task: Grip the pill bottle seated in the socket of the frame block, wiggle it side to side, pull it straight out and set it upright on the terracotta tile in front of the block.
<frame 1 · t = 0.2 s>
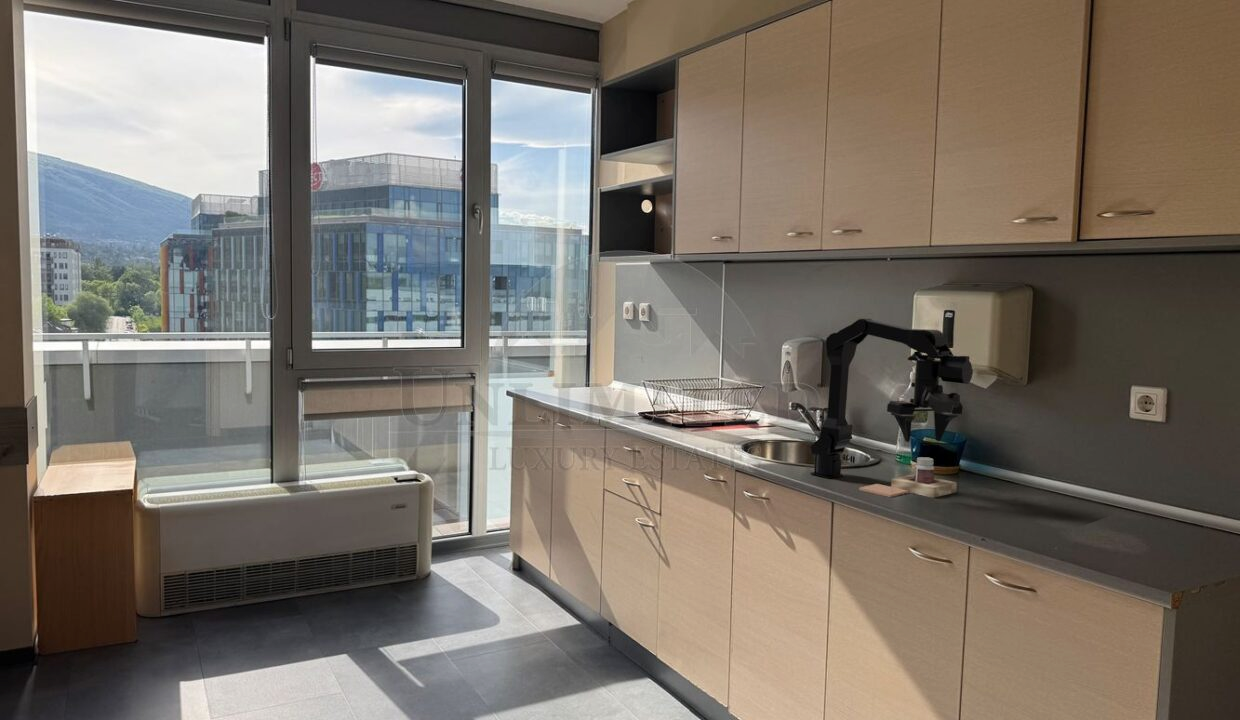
hand: (922, 441, 212), 14 cm above the countertop, fingers open, 9 cm apart
pill bottle: (923, 491, 219), resting in frame block
frame block: (923, 490, 219), on the countertop
terracotta tile: (883, 491, 216), on the countertop
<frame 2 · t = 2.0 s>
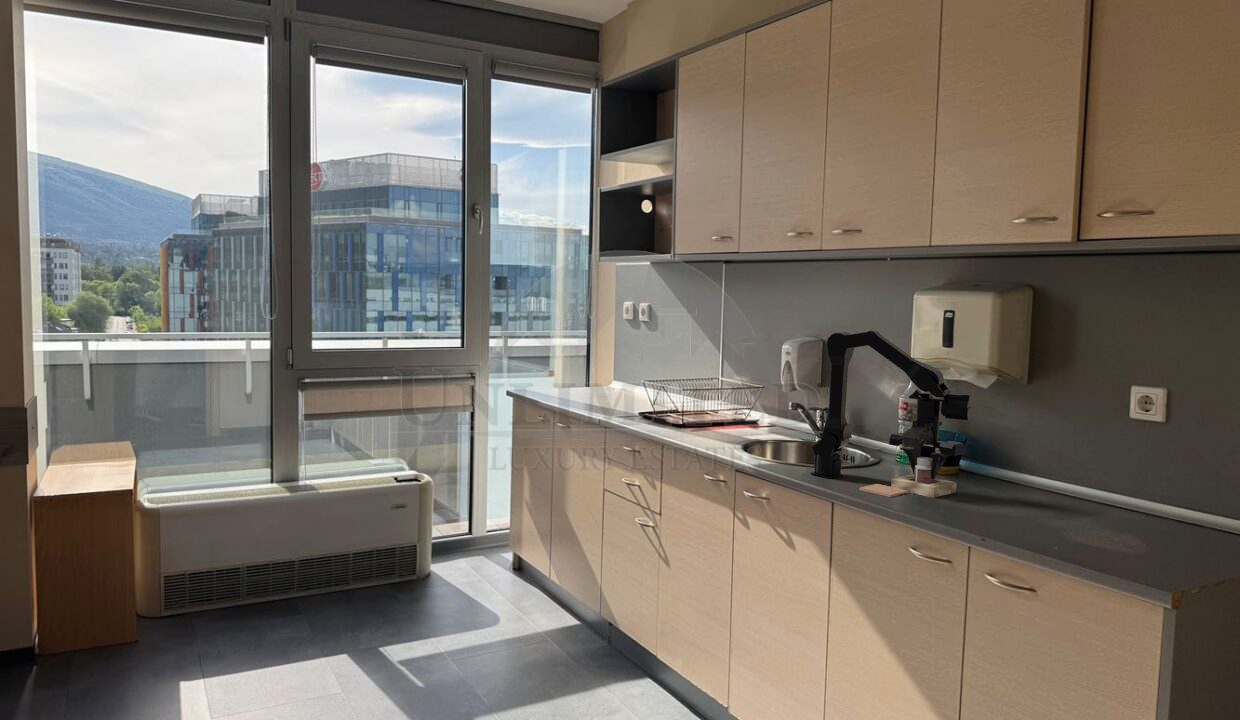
hand: (924, 476, 219), 4 cm above the countertop, fingers closed on pill bottle, 5 cm apart
pill bottle: (923, 490, 219), resting in frame block, touching gripper
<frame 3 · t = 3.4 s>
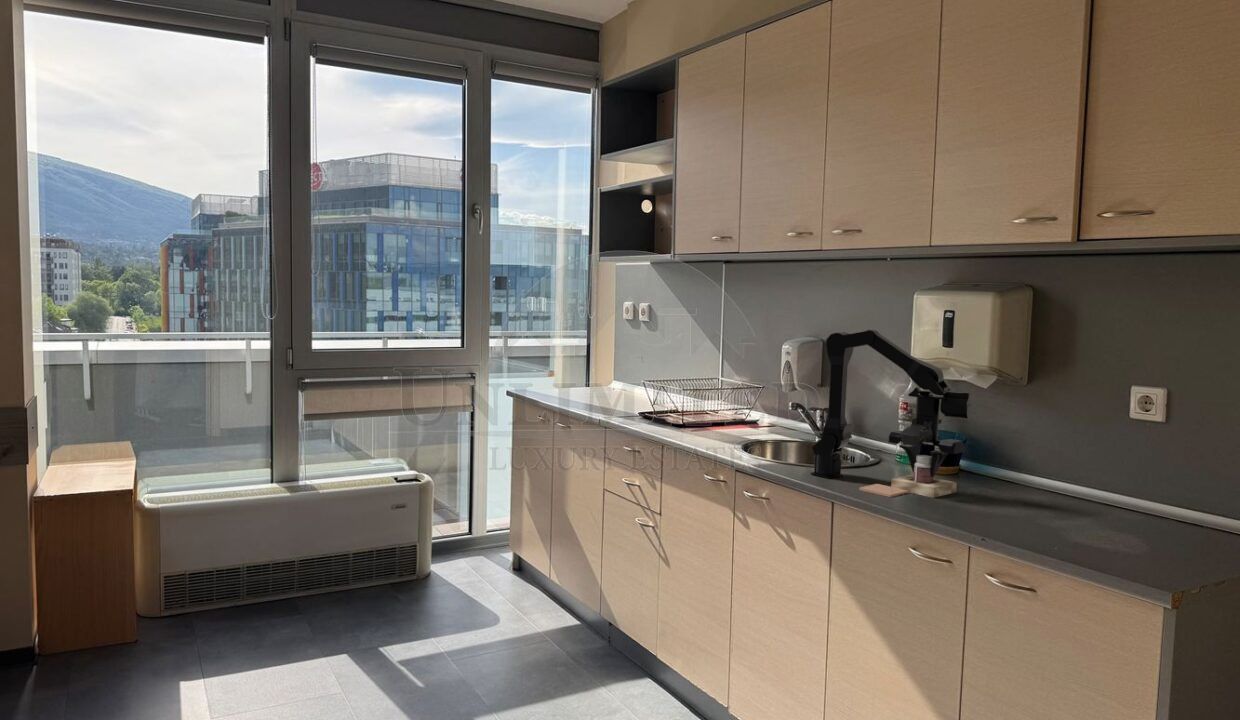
hand: (923, 474, 219), 4 cm above the countertop, fingers closed on pill bottle, 5 cm apart
pill bottle: (922, 488, 219), resting in frame block, touching gripper
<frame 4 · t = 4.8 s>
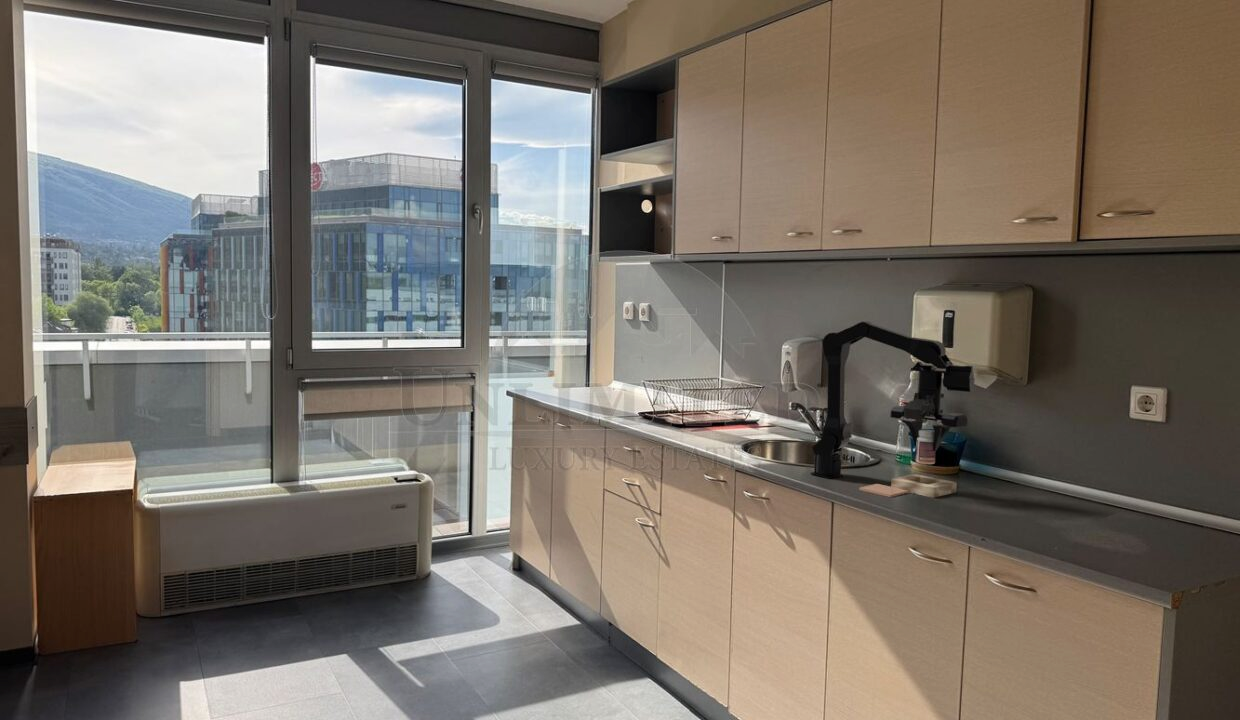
hand: (925, 449, 218), 11 cm above the countertop, fingers closed on pill bottle, 5 cm apart
pill bottle: (925, 463, 218), point 7 cm above the countertop, touching gripper
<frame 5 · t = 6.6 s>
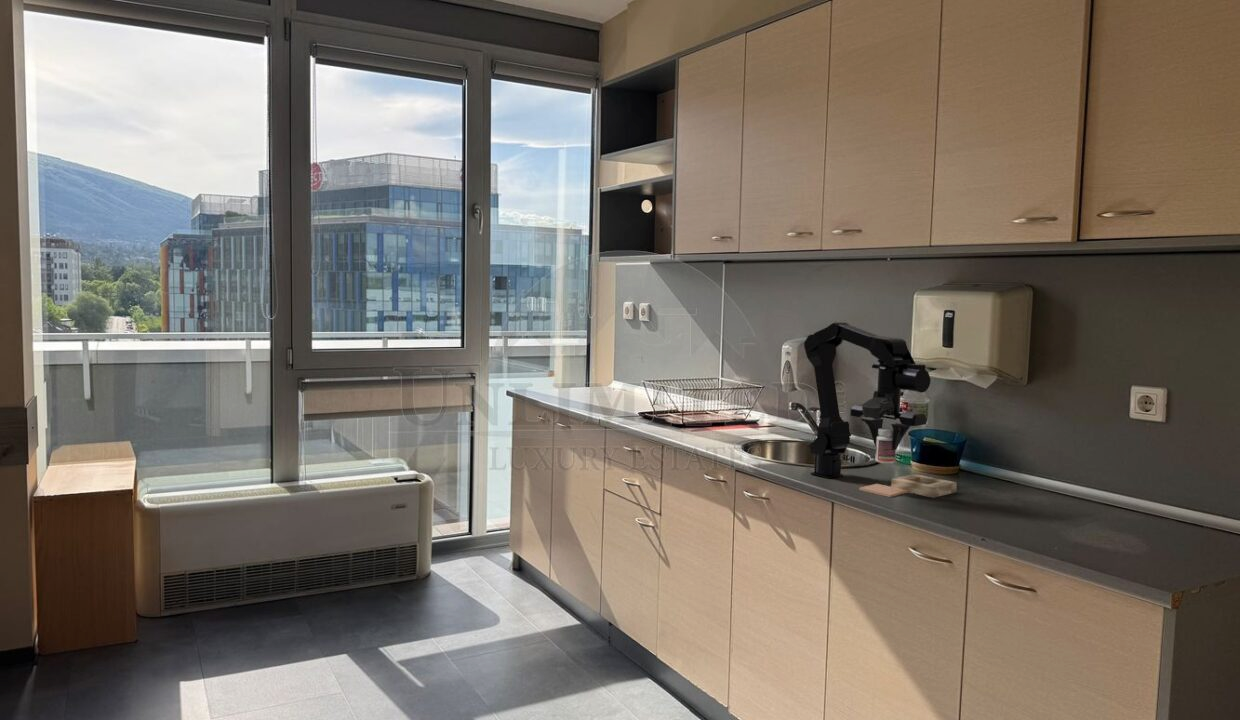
hand: (885, 448, 215), 11 cm above the countertop, fingers closed on pill bottle, 5 cm apart
pill bottle: (884, 462, 216), point 8 cm above the countertop, touching gripper
when the fingers open (5 cm above the countertop, at t = 7.9 s): pill bottle drops 1 cm, resting on terracotta tile.
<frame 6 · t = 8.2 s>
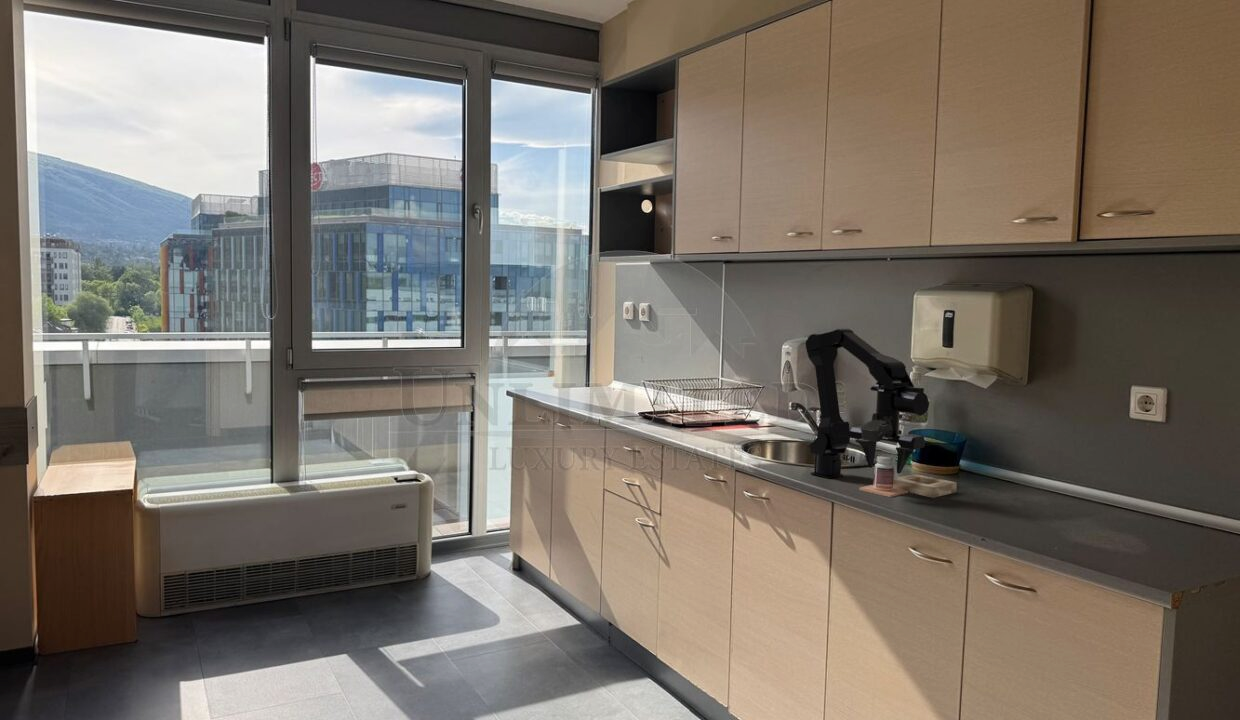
hand: (884, 470, 216), 5 cm above the countertop, fingers open, 8 cm apart
pill bottle: (882, 489, 216), resting on terracotta tile
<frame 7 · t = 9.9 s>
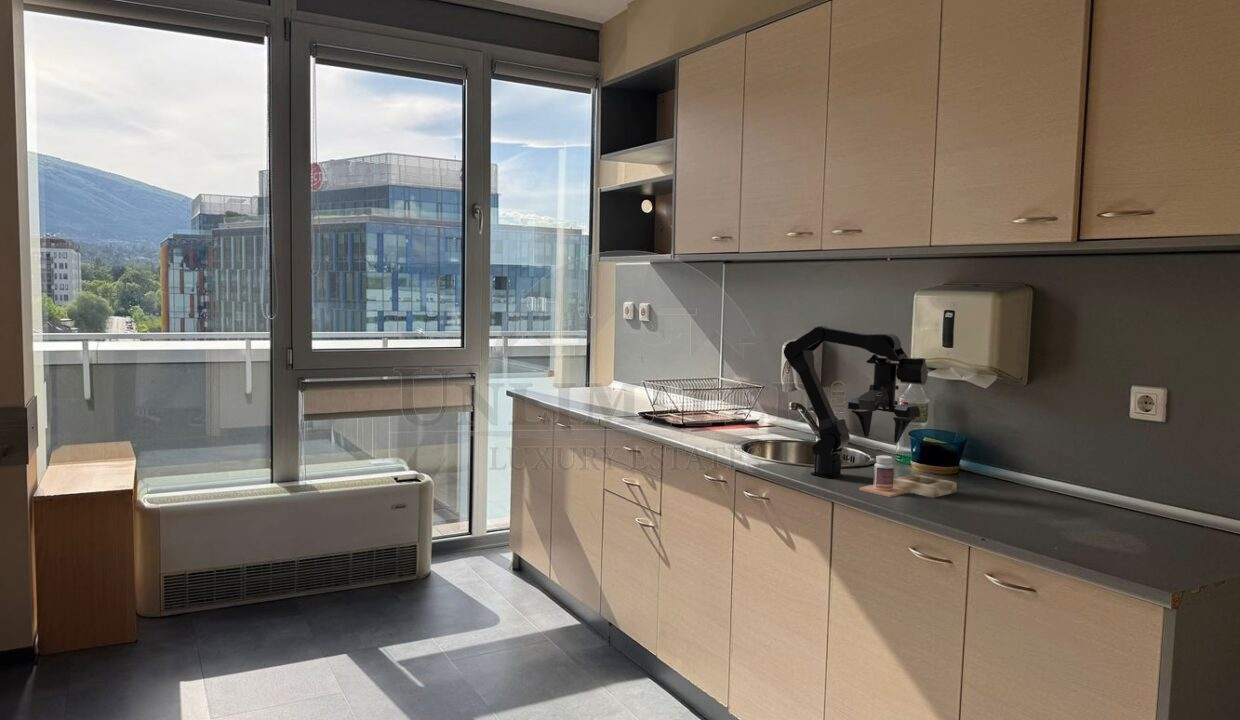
hand: (881, 439, 224), 12 cm above the countertop, fingers open, 9 cm apart
nothing on the countertop moved.
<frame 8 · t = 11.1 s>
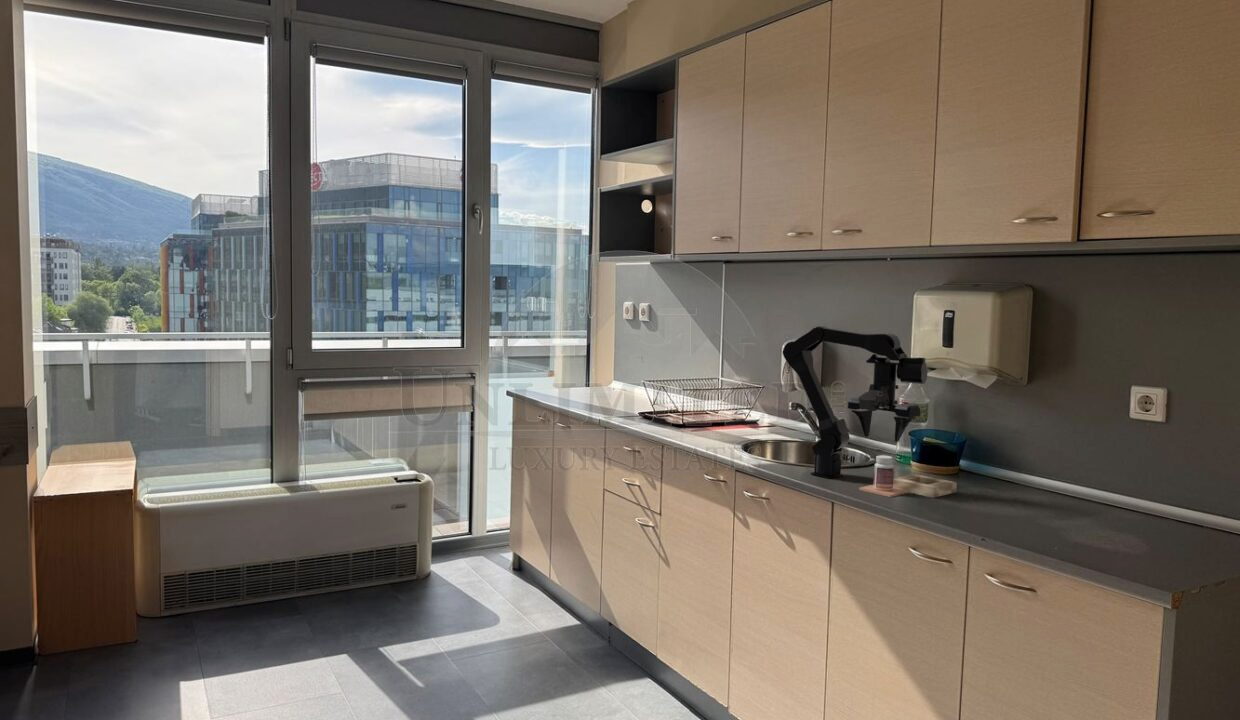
hand: (881, 439, 224), 12 cm above the countertop, fingers open, 9 cm apart
nothing on the countertop moved.
at the end: pill bottle inside the target area on the terracotta tile (0.2 cm from its centre), point 0.4 cm above the terracotta tile's base; pill bottle tilted 0°; the gripper is holding nothing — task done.
